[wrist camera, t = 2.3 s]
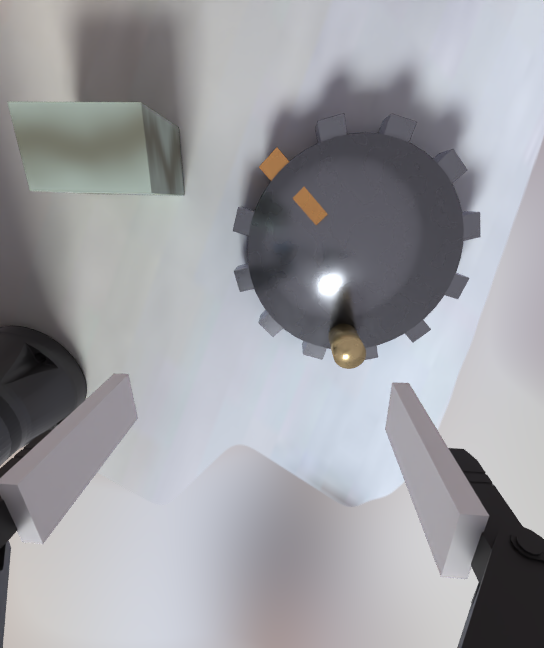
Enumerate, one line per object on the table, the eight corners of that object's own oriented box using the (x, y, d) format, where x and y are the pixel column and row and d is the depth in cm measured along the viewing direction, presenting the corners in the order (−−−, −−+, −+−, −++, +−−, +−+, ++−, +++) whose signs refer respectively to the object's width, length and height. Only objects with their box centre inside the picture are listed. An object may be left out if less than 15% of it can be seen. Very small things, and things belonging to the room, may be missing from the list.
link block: (184, 195, 32) (151, 193, 24) (90, 193, 32) (29, 190, 25) (178, 127, 29) (140, 102, 22) (77, 126, 30) (7, 101, 22)
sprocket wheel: (435, 353, 35) (467, 386, 29) (240, 345, 36) (229, 375, 30) (491, 122, 27) (554, 97, 20) (234, 120, 28) (218, 96, 22)
